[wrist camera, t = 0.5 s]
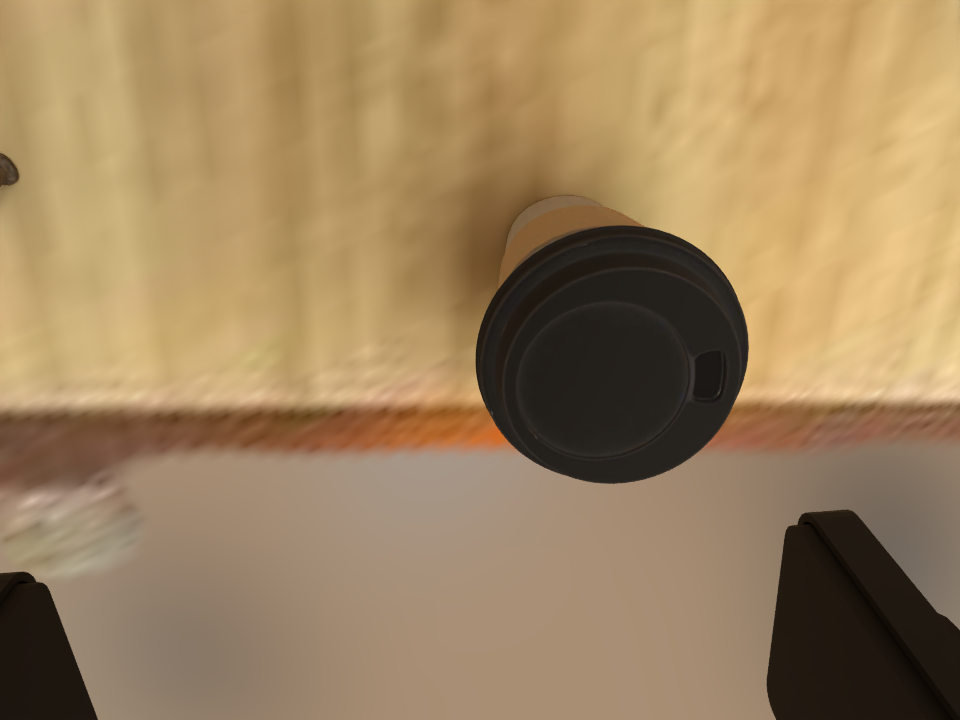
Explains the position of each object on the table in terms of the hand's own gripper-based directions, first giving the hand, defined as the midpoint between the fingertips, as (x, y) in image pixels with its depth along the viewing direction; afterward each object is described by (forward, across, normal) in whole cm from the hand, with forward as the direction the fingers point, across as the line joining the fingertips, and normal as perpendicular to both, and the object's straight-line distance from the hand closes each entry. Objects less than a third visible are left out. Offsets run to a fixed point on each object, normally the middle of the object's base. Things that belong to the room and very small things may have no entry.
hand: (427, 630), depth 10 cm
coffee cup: (+30, -6, +4) cm, 31 cm away
